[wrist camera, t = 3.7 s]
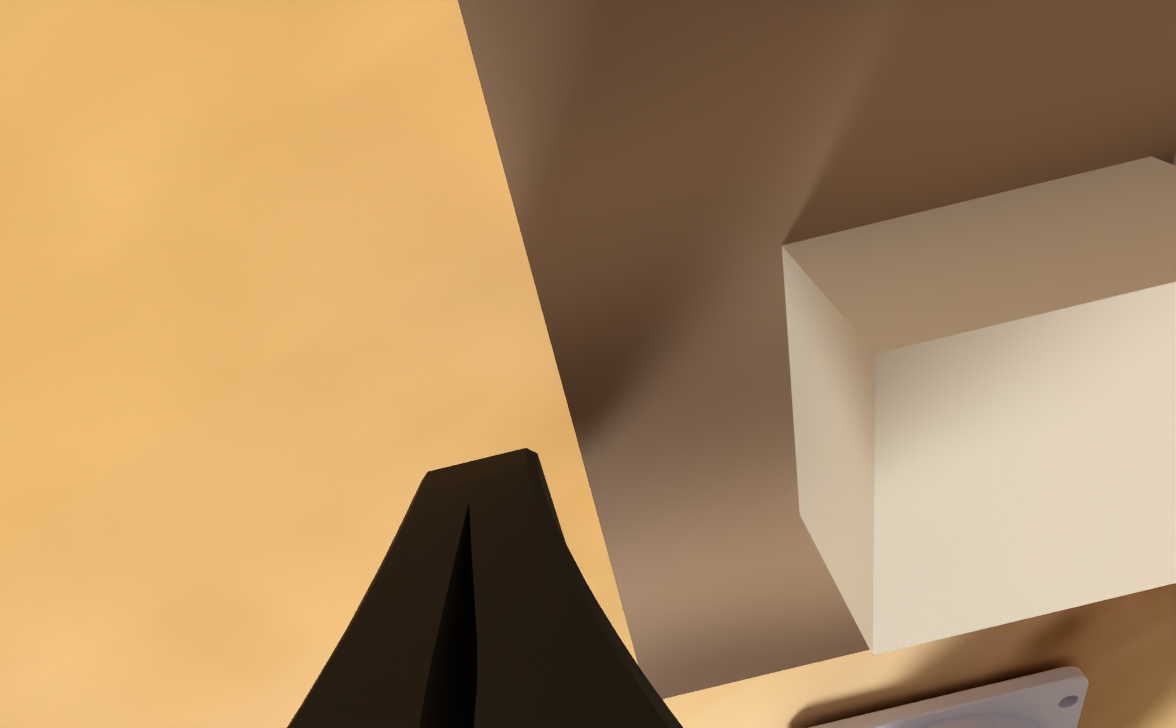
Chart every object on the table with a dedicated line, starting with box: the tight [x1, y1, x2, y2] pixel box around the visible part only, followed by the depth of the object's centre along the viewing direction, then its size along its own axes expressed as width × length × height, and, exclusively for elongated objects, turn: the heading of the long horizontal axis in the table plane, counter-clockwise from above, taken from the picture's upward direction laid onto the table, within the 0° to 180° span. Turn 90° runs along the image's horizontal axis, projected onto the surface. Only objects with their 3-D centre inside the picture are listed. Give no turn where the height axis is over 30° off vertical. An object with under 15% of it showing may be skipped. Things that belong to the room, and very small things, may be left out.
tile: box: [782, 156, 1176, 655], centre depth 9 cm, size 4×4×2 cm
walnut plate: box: [458, 0, 1176, 699], centre depth 11 cm, size 12×14×3 cm
